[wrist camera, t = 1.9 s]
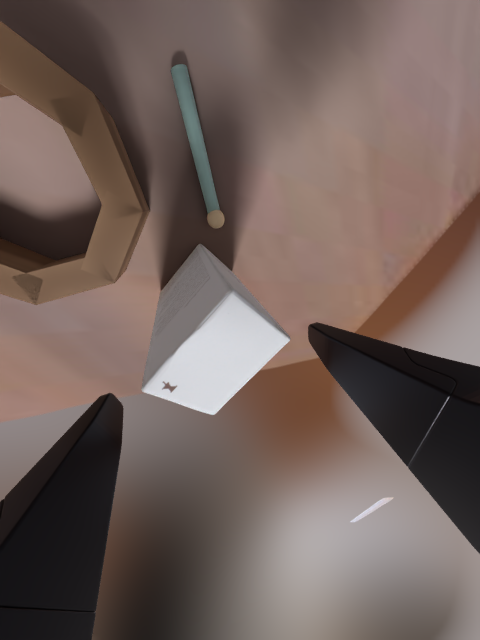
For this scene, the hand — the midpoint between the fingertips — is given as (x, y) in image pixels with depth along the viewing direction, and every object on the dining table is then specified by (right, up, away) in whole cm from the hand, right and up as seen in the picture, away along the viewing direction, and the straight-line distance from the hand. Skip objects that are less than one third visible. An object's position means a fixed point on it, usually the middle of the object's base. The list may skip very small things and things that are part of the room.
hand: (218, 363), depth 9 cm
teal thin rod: (-2, +14, +6) cm, 15 cm away
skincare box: (-3, +6, +10) cm, 12 cm away
